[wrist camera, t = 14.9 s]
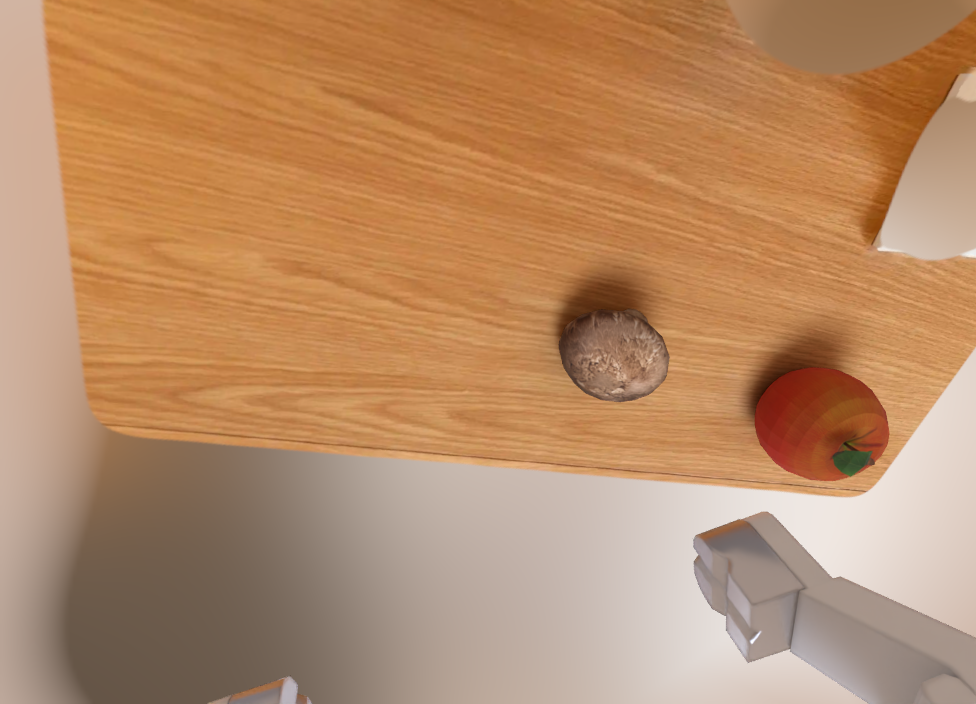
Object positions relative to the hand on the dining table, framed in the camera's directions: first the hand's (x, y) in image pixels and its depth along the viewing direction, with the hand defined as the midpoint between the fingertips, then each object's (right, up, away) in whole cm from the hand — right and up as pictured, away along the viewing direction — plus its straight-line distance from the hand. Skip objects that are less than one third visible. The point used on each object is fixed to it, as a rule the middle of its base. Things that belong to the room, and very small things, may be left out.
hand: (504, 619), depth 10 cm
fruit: (+27, +1, +38) cm, 46 cm away
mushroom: (+8, +6, +30) cm, 32 cm away
